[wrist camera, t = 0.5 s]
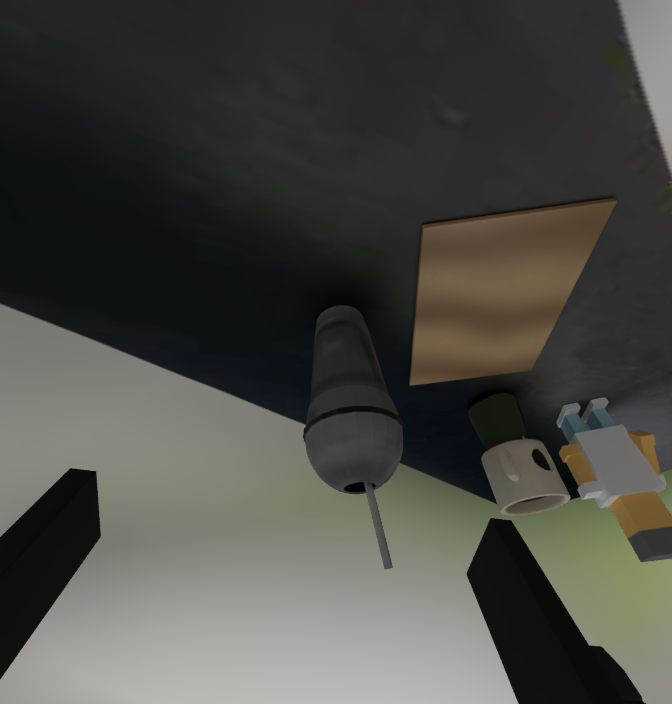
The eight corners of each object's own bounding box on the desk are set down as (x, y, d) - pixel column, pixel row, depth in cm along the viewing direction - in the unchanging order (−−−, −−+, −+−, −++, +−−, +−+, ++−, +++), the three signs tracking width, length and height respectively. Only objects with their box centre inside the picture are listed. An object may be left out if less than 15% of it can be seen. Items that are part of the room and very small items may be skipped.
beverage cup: (312, 285, 29) (325, 555, 16) (391, 301, 31) (459, 552, 18) (294, 343, 35) (292, 583, 21) (362, 353, 36) (400, 579, 23)
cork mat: (421, 224, 26) (422, 228, 26) (613, 197, 25) (617, 200, 25) (409, 382, 41) (409, 385, 41) (529, 367, 40) (531, 370, 40)
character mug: (530, 407, 48) (581, 507, 39) (480, 427, 51) (518, 523, 42) (502, 373, 41) (556, 483, 32) (447, 397, 44) (483, 504, 36)
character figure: (534, 418, 50) (608, 563, 38) (611, 382, 44) (727, 539, 32) (559, 432, 54) (632, 567, 42) (632, 401, 48) (742, 546, 36)
